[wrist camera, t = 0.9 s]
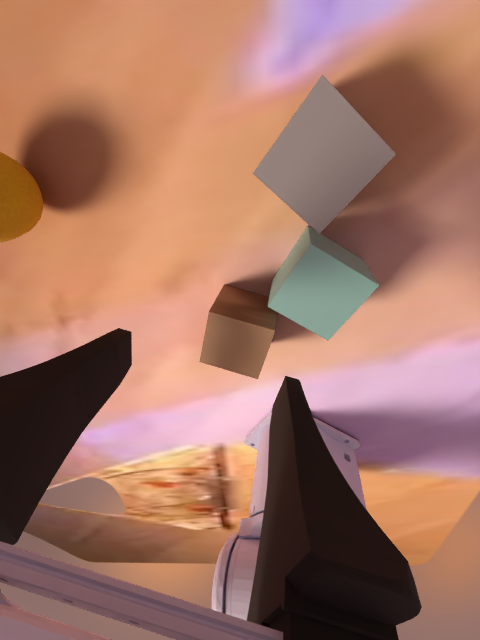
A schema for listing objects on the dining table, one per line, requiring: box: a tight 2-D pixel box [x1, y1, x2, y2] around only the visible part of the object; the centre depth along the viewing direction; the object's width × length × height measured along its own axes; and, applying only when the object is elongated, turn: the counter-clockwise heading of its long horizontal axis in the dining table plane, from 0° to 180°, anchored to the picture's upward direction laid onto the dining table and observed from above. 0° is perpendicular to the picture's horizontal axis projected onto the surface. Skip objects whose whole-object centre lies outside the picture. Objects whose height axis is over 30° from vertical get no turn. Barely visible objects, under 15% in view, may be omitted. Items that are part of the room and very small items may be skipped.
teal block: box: [268, 226, 380, 340], centre depth 18 cm, size 4×4×4 cm
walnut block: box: [200, 285, 278, 379], centre depth 21 cm, size 4×4×4 cm
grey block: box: [253, 75, 396, 234], centre depth 15 cm, size 4×4×4 cm
